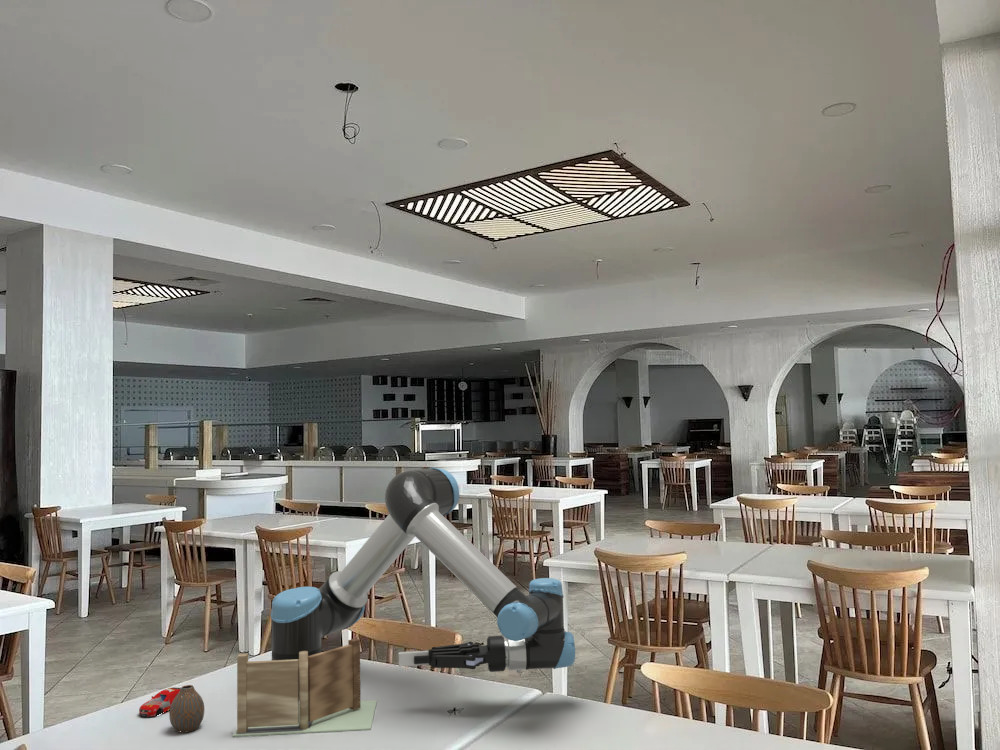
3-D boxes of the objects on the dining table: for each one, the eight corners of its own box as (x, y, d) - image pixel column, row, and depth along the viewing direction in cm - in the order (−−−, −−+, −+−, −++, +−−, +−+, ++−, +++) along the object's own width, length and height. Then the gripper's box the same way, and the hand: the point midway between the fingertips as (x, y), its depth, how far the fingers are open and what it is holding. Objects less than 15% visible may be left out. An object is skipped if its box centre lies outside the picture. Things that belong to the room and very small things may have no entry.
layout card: (252, 707, 178) (252, 706, 178) (376, 701, 180) (376, 699, 180) (232, 737, 161) (232, 735, 161) (370, 729, 163) (370, 727, 163)
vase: (183, 737, 161) (183, 694, 162) (162, 731, 165) (162, 688, 165) (211, 726, 167) (211, 684, 168) (190, 720, 171) (190, 679, 171)
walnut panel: (311, 725, 164) (310, 653, 165) (306, 723, 165) (305, 652, 166) (360, 707, 174) (359, 639, 175) (355, 705, 175) (354, 638, 176)
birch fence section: (239, 730, 164) (239, 653, 165) (308, 726, 165) (308, 650, 166) (237, 733, 162) (237, 656, 163) (307, 729, 163) (307, 653, 164)
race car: (151, 721, 172) (151, 702, 172) (133, 718, 174) (133, 699, 174) (197, 701, 184) (197, 683, 184) (180, 698, 186) (180, 681, 186)
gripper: (508, 679, 168) (397, 686, 166) (503, 661, 181) (400, 667, 179) (507, 643, 169) (396, 649, 167) (502, 628, 182) (399, 634, 180)
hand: (398, 659), depth 173 cm, fingers closed
